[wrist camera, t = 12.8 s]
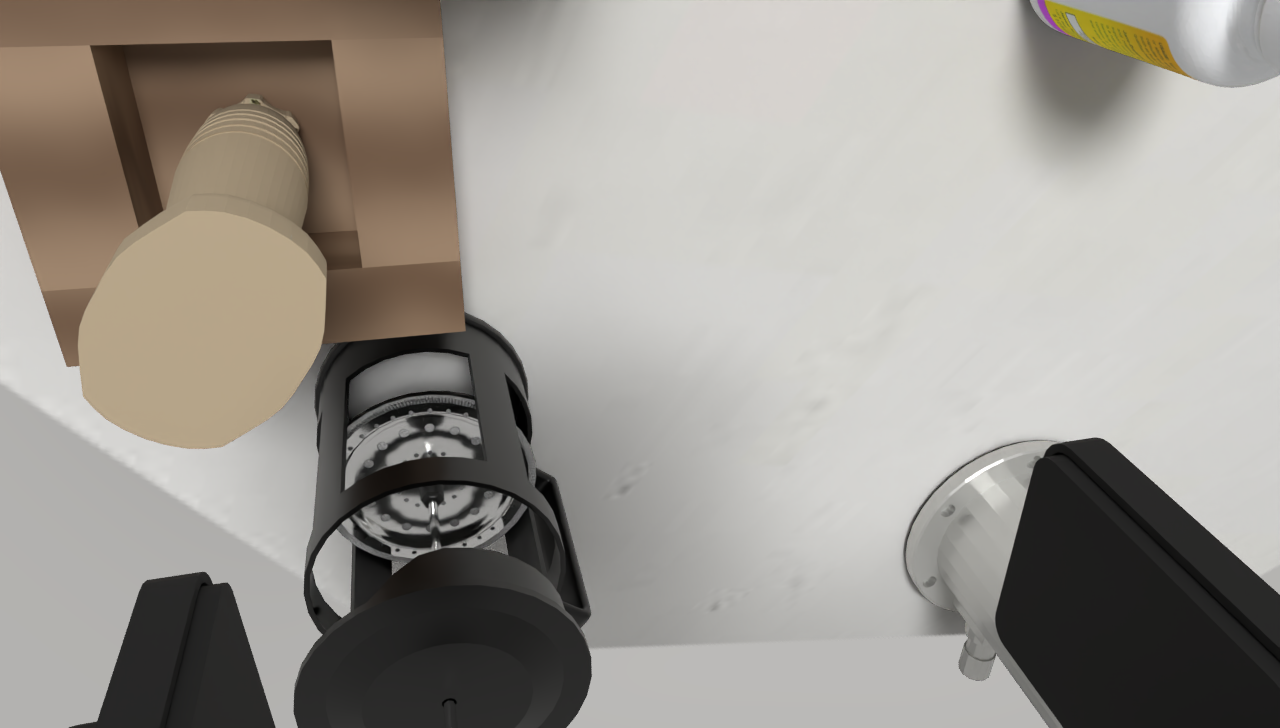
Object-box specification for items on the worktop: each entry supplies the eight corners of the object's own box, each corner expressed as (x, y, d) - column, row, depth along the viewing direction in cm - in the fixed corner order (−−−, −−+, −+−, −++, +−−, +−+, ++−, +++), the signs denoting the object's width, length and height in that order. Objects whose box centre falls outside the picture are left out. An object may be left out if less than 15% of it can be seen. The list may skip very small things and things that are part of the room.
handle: (362, 98, 34) (368, 276, 22) (278, 237, 36) (242, 473, 24) (232, 20, 32) (158, 172, 20) (150, 174, 34) (36, 400, 22)
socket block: (456, 280, 40) (465, 331, 36) (97, 308, 37) (66, 366, 33) (427, -81, 33) (434, -63, 29) (-22, -82, 30) (-79, -64, 26)
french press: (259, 421, 41) (162, 964, 22) (375, 258, 39) (378, 716, 20) (481, 519, 47) (553, 1018, 28) (595, 383, 44) (760, 831, 25)
